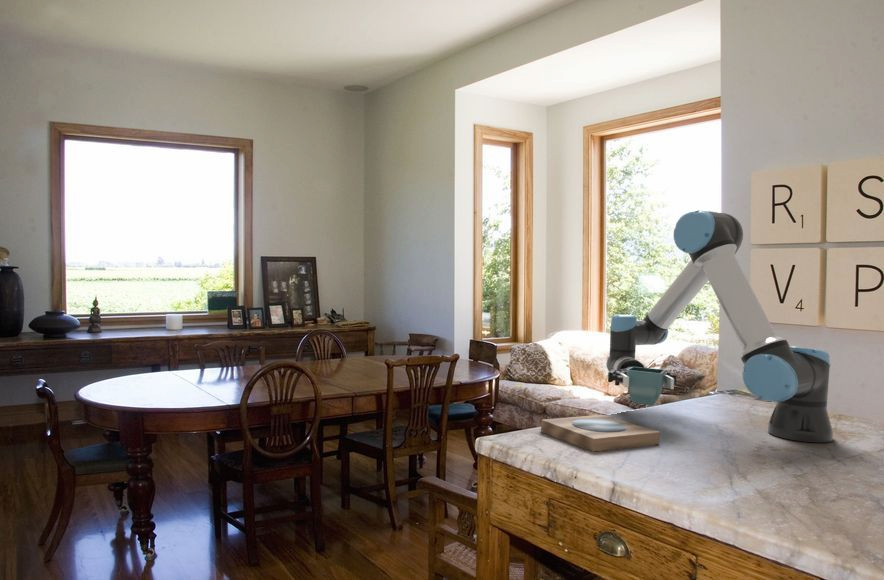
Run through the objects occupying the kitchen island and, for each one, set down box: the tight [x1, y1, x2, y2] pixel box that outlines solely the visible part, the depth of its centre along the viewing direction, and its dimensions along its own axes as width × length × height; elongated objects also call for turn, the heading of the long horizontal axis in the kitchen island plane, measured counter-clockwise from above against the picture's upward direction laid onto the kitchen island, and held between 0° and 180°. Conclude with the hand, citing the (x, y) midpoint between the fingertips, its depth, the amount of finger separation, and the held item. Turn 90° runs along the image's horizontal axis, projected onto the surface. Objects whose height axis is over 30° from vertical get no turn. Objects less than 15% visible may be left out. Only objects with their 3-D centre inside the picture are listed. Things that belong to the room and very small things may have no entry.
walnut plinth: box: [540, 414, 661, 452], centre depth 170 cm, size 20×20×3 cm
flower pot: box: [627, 367, 666, 406], centre depth 182 cm, size 9×9×9 cm
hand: (649, 383), depth 178 cm, fingers closed on flower pot, 11 cm apart
